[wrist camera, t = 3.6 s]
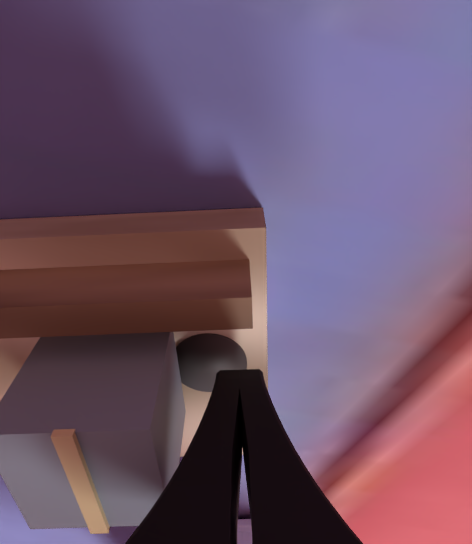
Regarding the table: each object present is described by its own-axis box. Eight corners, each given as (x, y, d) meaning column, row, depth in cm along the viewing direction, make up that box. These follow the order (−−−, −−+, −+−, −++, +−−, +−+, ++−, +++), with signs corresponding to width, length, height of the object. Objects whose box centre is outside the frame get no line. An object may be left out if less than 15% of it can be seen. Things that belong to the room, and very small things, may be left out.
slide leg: (185, 412, 15) (171, 531, 12) (77, 415, 15) (28, 535, 12) (171, 321, 13) (148, 433, 9) (45, 326, 13) (-26, 439, 10)
